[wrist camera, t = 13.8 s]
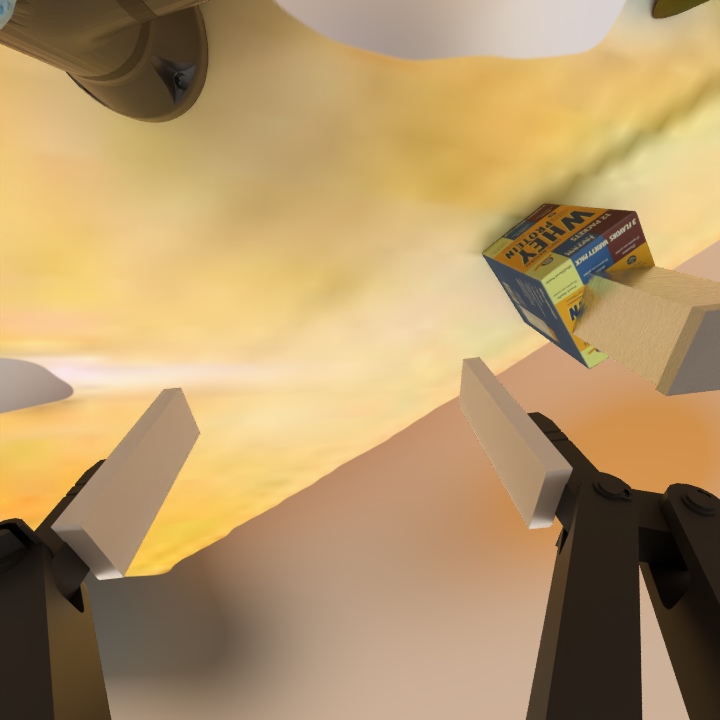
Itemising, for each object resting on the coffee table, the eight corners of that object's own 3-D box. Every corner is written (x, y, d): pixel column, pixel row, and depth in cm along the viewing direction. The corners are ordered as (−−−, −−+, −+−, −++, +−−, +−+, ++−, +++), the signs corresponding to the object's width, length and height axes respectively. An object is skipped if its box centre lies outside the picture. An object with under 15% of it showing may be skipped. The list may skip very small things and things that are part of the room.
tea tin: (587, 271, 33) (706, 311, 22) (656, 263, 33) (806, 300, 23) (570, 335, 37) (666, 396, 26) (632, 328, 37) (753, 385, 26)
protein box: (544, 201, 44) (638, 208, 30) (583, 283, 50) (676, 319, 37) (479, 253, 47) (539, 280, 33) (524, 324, 53) (590, 372, 39)
